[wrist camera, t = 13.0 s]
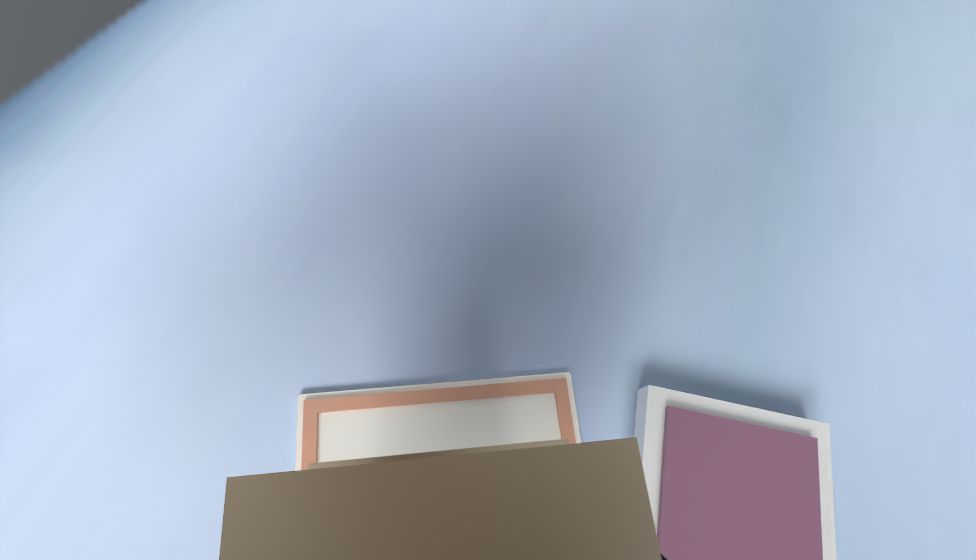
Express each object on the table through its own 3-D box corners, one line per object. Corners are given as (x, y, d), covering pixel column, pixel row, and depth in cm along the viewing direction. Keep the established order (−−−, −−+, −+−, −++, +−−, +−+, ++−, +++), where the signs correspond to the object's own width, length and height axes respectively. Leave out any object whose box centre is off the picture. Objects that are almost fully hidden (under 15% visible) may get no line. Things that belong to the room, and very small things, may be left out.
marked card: (618, 691, 17) (622, 695, 16) (287, 742, 16) (283, 748, 15) (569, 372, 21) (570, 371, 20) (299, 395, 19) (296, 393, 19)
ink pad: (819, 700, 17) (852, 719, 16) (614, 655, 17) (629, 670, 16) (808, 427, 20) (835, 423, 19) (637, 390, 21) (651, 383, 19)
